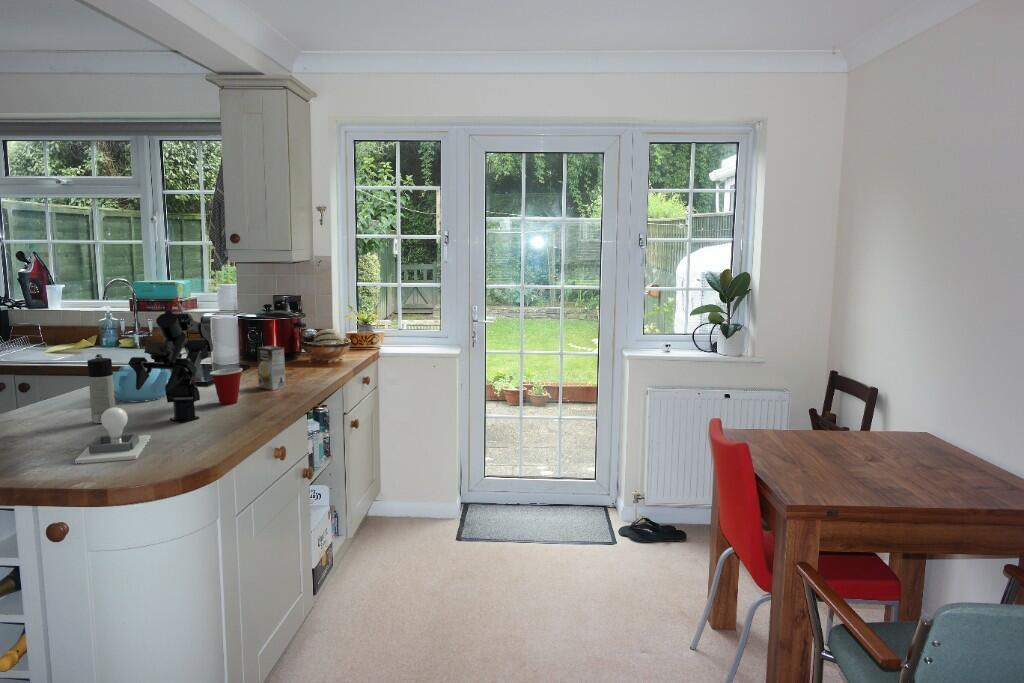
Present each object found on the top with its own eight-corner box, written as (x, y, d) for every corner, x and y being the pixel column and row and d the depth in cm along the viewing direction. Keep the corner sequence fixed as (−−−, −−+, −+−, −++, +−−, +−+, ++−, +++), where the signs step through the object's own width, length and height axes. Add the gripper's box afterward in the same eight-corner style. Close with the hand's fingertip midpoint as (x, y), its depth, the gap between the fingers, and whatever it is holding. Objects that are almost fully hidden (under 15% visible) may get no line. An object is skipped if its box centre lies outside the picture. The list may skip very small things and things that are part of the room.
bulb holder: (95, 442, 194) (94, 432, 193) (150, 438, 198) (149, 428, 197) (75, 463, 175) (74, 452, 174) (136, 459, 179) (135, 447, 179)
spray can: (121, 419, 218) (116, 358, 215) (102, 425, 212) (97, 361, 209) (106, 417, 220) (101, 357, 217) (86, 423, 214) (81, 360, 211)
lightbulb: (110, 451, 182) (107, 411, 180) (98, 447, 185) (95, 408, 184) (134, 445, 187) (131, 407, 186) (122, 441, 191) (119, 403, 189)
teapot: (108, 404, 238) (105, 365, 236) (118, 393, 255) (116, 357, 253) (169, 401, 244) (166, 363, 242) (175, 390, 262) (173, 355, 260)
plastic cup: (217, 399, 247) (215, 367, 245) (248, 399, 247) (246, 366, 246) (206, 406, 236) (204, 372, 234) (238, 406, 237) (237, 372, 235)
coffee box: (257, 387, 268) (255, 347, 265) (271, 384, 273) (269, 345, 271) (273, 390, 263) (271, 349, 260) (286, 387, 268) (284, 347, 266)
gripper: (129, 330, 203) (107, 373, 194) (188, 331, 202) (169, 375, 192) (148, 352, 212) (127, 394, 203) (204, 353, 210) (186, 396, 201)
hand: (151, 389), depth 200 cm, fingers open, 9 cm apart
